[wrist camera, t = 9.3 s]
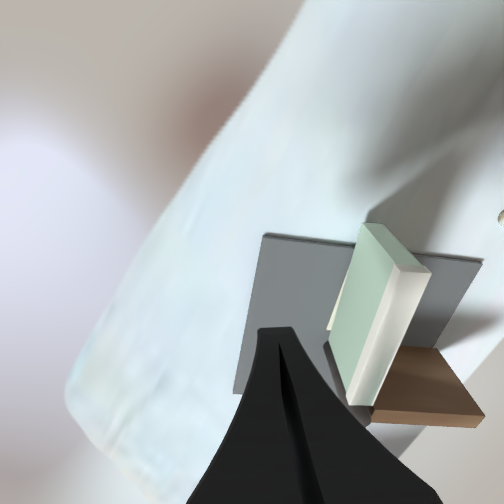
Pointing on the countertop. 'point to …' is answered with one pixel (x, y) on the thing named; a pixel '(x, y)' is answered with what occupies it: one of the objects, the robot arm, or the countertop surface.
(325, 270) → the board
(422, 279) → the fence gate
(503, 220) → the bull figurine
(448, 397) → the fence section
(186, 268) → the countertop surface
